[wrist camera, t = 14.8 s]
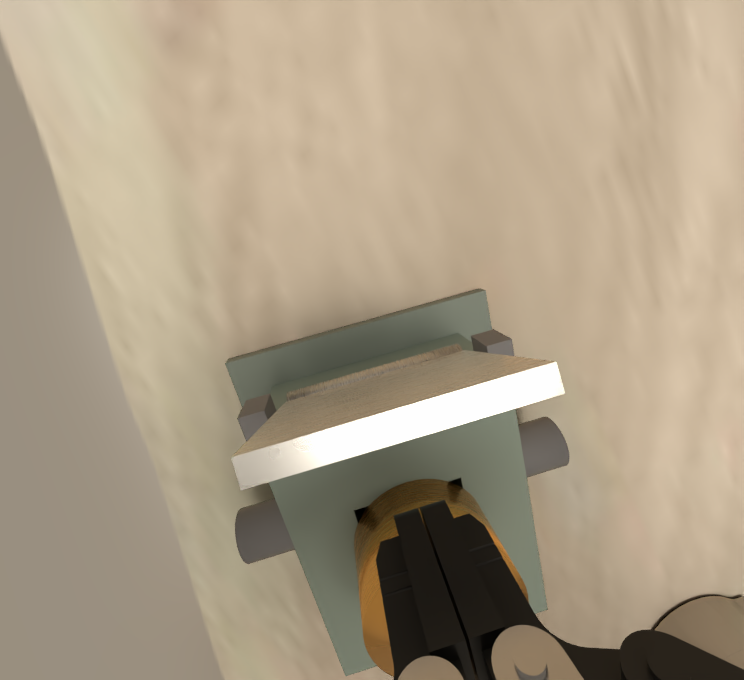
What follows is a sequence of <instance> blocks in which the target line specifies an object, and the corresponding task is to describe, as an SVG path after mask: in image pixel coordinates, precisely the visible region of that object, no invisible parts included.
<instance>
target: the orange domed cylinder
mask: <svg viewBox="0 0 744 680" xmlns="http://www.w3.org/2000/svg"><path fill="white" fill-rule="evenodd" d="M441 500H445V501H446V503H447V505H448V507H449V509H450V512H451V514H452V516H453V518H456V517H459V516H462V515H466V514H469V513H470V514H471V515H472V516H473V517H475V518H476V519H477V520H479V521H480V522H481V523H482V524H484V525H485V527H486V529H487V530H488V532H489V534H490V536H491V537H492V539H493V541H494V544H495V545H496V546H497V548H498V550H499V552H500V553H501V555H502V558H503V560H505V562H506V564H507V566H508V567H509V569H510V571H511V573H512V575H513V576H514V578H515V580H516V582H517V583H518V585H519V587H520V589H521V590H522V592H523V594H524V596H525V597H526V599H527V601H528V603H529V599H528V593H527V589H526V586H525V584H524V582H523V579H522V578H521V576H520V574H519V573H518V571H517V569H516V567H515V566H514V564H513V562H512V561H511V559H510V557H509V555H508V554H507V552H506V550H505V549H504V547H503V545H502V544H501V542H500V540H499V538H498V537H497V535H496V533H495V532H494V530H493V528H492V526H491V525H490V523H489V521H488V520H487V518H486V516H485V514H484V513H483V511H482V509H481V508H480V506H479V504H478V503H477V501H476V500H475V498H474V497H473V496H472V495H471V494H470V493H469V492H467V491H466V490H465V489H463V488H462V487H460V486H458V485H456V484H453V483H451V482H448V481H443V480H437V479H420V480H413V481H409V482H405V483H403V484H400V485H397V486H395V487H393V488H391V489H389V490H388V491H386V492H384V493H383V494H381V495H380V496H379V497H378V498H376V499H375V500H374V501H373V502H372V503H371V504H370V505H369V506H368V508H367V509H366V510H365V512H364V513H363V515H362V516H361V518H360V520H359V522H358V525H357V527H356V531H355V535H354V550H355V560H356V570H357V580H358V590H359V600H360V609H361V619H362V629H363V639H364V643H365V647H366V650H367V652H368V654H369V656H370V657H371V659H372V660H373V662H374V663H375V664H376V665H377V666H378V667H379V668H380V669H382V670H383V671H384V672H386V673H387V674H389V675H391V676H393V677H394V665H393V658H392V652H391V646H390V641H389V635H388V629H387V623H386V617H385V611H384V605H383V600H382V599H383V598H382V594H381V588H380V581H379V576H378V570H377V564H376V557H377V553H378V549H379V545H380V542H381V541H384V540H387V539H390V538H393V537H397V536H399V535H398V531H397V528H396V524H395V520H394V516H393V515H397V514H400V513H403V512H406V511H409V510H413V509H416V508H418V509H419V512H420V515H421V511H420V507H422V506H425V505H428V504H431V503H435V502H438V501H441ZM421 517H422V515H421ZM422 520H423V519H422ZM423 523H424V522H423Z"/></svg>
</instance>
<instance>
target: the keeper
mask: <svg viewBox="0 0 744 680" xmlns="http://www.w3.org/2000/svg"><path fill="white" fill-rule="evenodd" d="M561 394H565V392H564V388H563V384H562V381H561V377H560V373H559V370H558V366H557V362H556V361H548V360H540V359H532V358H524V357H516V356H508V355H500V354H492V353H484V352H476V351H468V350H463V349H462V347H461V346H460V345H459V344H458V343H457V344H453V345H450V346H446V347H443V348H439V349H436V350H432V351H429V352H425V353H422V354H419V355H415V356H412V357H408V358H405V359H401V360H398V361H394V362H391V363H387V364H384V365H380V366H377V367H373V368H370V369H366V370H363V371H359V372H356V373H353V374H349V375H346V376H342V377H339V378H335V379H332V380H328V381H325V382H321V383H318V384H314V385H311V386H307V387H304V388H300V389H297V390H293V391H290V392H287V395H286V397H287V401H286V402H285V403H284V404H283V405H282V406H281V407H280V408H279V409H278V410H277V411H276V412H275V413H274V414H273V415H272V416H271V417H270V418H269V419H268V420H267V421H266V422H265V423H264V424H263V425H262V426H261V427H260V428H259V430H258V431H257V432H256V433H255V434H254V435H253V436H252V437H251V438H250V439H249V440H248V441H247V442H246V443H245V444H244V445H243V446H242V447H241V448H240V449H239V450H238V451H237V452H236V453H235V454H234V455H233V456H232V457H231V459H232V463H233V466H234V469H235V473H236V476H237V479H238V483H239V486H240V490H244V489H248V488H251V487H254V486H258V485H261V484H264V483H268V482H271V481H274V480H278V479H281V478H284V477H288V476H291V475H294V474H298V473H301V472H304V471H308V470H311V469H314V468H318V467H321V466H324V465H328V464H331V463H334V462H338V461H341V460H344V459H348V458H351V457H354V456H358V455H361V454H364V453H368V452H371V451H374V450H378V449H381V448H384V447H388V446H391V445H394V444H398V443H401V442H404V441H408V440H411V439H415V438H418V437H421V436H425V435H428V434H431V433H435V432H438V431H441V430H445V429H448V428H451V427H455V426H458V425H461V424H465V423H468V422H471V421H475V420H478V419H481V418H485V417H488V416H491V415H495V414H498V413H501V412H505V411H508V410H511V409H515V408H518V407H521V406H525V405H528V404H531V403H535V402H538V401H541V400H545V399H548V398H551V397H555V396H558V395H561Z"/></svg>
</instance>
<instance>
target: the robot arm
mask: <svg viewBox="0 0 744 680" xmlns="http://www.w3.org/2000/svg"><path fill="white" fill-rule="evenodd" d="M420 511H421V515H422V517H421V515H420V512H419V509H418V508H416V509H413V510H409V511H406V512H403V513H400V514H397V515H393V516H394V520H395V524H396V528H397V531H398V535H399V536H397V537H393V538H390V539H387V540H384V541H381V542H380V545H379V549H378V553H377V557H376V564H377V570H378V576H379V581H380V588H381V594H382V598H383V599H382V600H383V605H384V611H385V617H386V623H387V629H388V635H389V641H390V646H391V652H392V658H393V665H394V680H744V596H743V597H740V598H736V599H729V598H726V597H722V596H709V597H702V598H699V599H696V600H693V601H690V602H688V603H686V604H684V605H682V606H680V607H679V608H677V609H676V610H674V611H673V612H671V613H670V614H669V615H668V616H667V617H666V618H665V619H663V620H662V621H661V623H660V624H659V625H658V626H657V628H656V629H655V630H641V631H636V632H634V633H631V634H630V635H629V636H627V637H626V638H625V640H624V641H623V643H622V645H621V648H620V649H602V648H586V647H579V646H576V645H572V644H570V643H567V642H565V641H563V640H561V639H559V638H557V637H556V636H555V635H553V634H552V633H550V632H549V631H548V630H547V629H546V628H545V627H544V626H543V625H542V624H541V622H540V621H539V620H538V618H537V617H536V615H535V613H534V612H533V610H532V608H531V606H530V604H529V603H528V601H527V599H526V597H525V596H524V594H523V592H522V590H521V589H520V587H519V585H518V583H517V582H516V580H515V578H514V576H513V575H512V573H511V571H510V569H509V567H508V566H507V564H506V562H505V560H503V558H502V555H501V553H500V552H499V550H498V548H497V546H496V545H495V544H494V541H493V539H492V537H491V536H490V534H489V532H488V530H487V529H486V527H485V525H484V524H482V523H481V522H480V521H479V520H477V519H476V518H475V517H473V516H472V515H471V514H470V513H469V514H466V515H462V516H459V517H456V518H453V516H452V514H451V512H450V509H449V507H448V505H447V503H446V501H445V500H441V501H438V502H435V503H431V504H428V505H425V506H422V507H420ZM422 519H423V520H422ZM423 522H424V523H423Z"/></svg>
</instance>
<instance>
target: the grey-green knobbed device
mask: <svg viewBox="0 0 744 680" xmlns="http://www.w3.org/2000/svg"><path fill="white" fill-rule="evenodd" d="M457 343H458V344H459V345H460V346H461V347H462V349H463V350H468V351H476V352H484V353H492V354H500V355H508V356H514V351H513V344H512V339H511V338H509V337H507V336H505V335H503V334H501V333H499V332H497V331H496V330H494V329H492V327H491V321H490V315H489V309H488V303H487V297H486V291H485V290H483V289H476V290H473V291H469V292H465V293H462V294H458V295H455V296H451V297H448V298H444V299H441V300H437V301H433V302H430V303H426V304H423V305H419V306H416V307H412V308H408V309H405V310H401V311H398V312H394V313H391V314H387V315H384V316H380V317H376V318H373V319H369V320H366V321H362V322H359V323H355V324H351V325H348V326H344V327H341V328H337V329H334V330H330V331H327V332H323V333H319V334H316V335H312V336H309V337H305V338H302V339H298V340H295V341H291V342H287V343H284V344H280V345H277V346H273V347H270V348H266V349H262V350H259V351H255V352H252V353H248V354H245V355H241V356H238V357H234V358H230V359H228V361H227V362H226V363H225V364H226V367H227V369H228V372H229V374H230V377H231V379H232V382H233V385H234V387H235V390H236V392H237V395H238V397H239V400H240V402H241V405H242V407H243V408H242V410H241V412H240V414H239V416H238V418H237V419H238V421H239V424H240V426H241V429H242V431H243V434H244V436H245V439H246V441H248V440H249V439H250V438H251V437H252V436H253V435H254V434H255V433H256V432H257V431H258V430H259V428H260V427H261V426H262V425H263V424H264V423H265V422H266V421H267V420H268V419H269V418H270V417H271V416H272V415H273V414H274V413H275V412H276V411H277V410H278V409H279V408H280V407H281V406H282V405H283V404H284V403H285V402H286V401H287V397H286V395H287V392H290V391H293V390H297V389H300V388H304V387H307V386H311V385H314V384H318V383H321V382H325V381H328V380H332V379H335V378H339V377H342V376H346V375H349V374H353V373H356V372H359V371H363V370H366V369H370V368H373V367H377V366H380V365H384V364H387V363H391V362H394V361H398V360H401V359H405V358H408V357H412V356H415V355H419V354H422V353H425V352H429V351H432V350H436V349H439V348H443V347H446V346H450V345H453V344H457ZM568 463H569V451H568V447H567V444H566V441H565V439H564V437H563V435H562V433H561V431H560V430H559V428H558V427H557V425H556V424H555V423H554V422H553V421H552V420H551V419H549V418H548V417H542V418H539V419H535V420H532V421H529V422H526V423H522V424H519V425H518V420H517V414H516V408H515V409H511V410H508V411H505V412H501V413H498V414H495V415H491V416H488V417H485V418H481V419H478V420H475V421H471V422H468V423H465V424H461V425H458V426H455V427H451V428H448V429H445V430H441V431H438V432H435V433H431V434H428V435H425V436H421V437H418V438H415V439H411V440H408V441H404V442H401V443H398V444H394V445H391V446H388V447H384V448H381V449H378V450H374V451H371V452H368V453H364V454H361V455H358V456H354V457H351V458H348V459H344V460H341V461H338V462H334V463H331V464H328V465H324V466H321V467H318V468H314V469H311V470H308V471H304V472H301V473H298V474H294V475H291V476H288V477H284V478H281V479H278V480H274V481H271V482H269V485H270V487H271V490H272V492H273V495H274V497H275V498H274V499H271V500H267V501H264V502H261V503H258V504H254V505H251V506H248V507H244V508H241V509H240V510H239V511H238V513H237V517H236V523H235V534H236V542H237V547H238V550H239V553H240V556H241V558H242V559H243V561H244V562H245V563H247V564H250V563H253V562H256V561H259V560H263V559H266V558H269V557H272V556H276V555H279V554H282V553H285V552H288V551H292V550H296V553H297V555H298V558H299V560H300V563H301V565H302V568H303V570H304V573H305V575H306V578H307V580H308V583H309V585H310V588H311V590H312V593H313V595H314V598H315V600H316V603H317V605H318V608H319V610H320V613H321V615H322V618H323V620H324V623H325V625H326V628H327V630H328V633H329V635H330V638H331V640H332V643H333V646H334V648H335V651H336V653H337V656H338V658H339V661H340V663H341V666H342V668H343V671H344V673H345V676H348V675H351V674H354V673H357V672H360V671H363V670H366V669H369V668H372V667H375V666H377V665H376V664H375V663H374V662H373V660H372V659H371V657H370V656H369V654H368V652H367V650H366V647H365V643H364V639H363V629H362V619H361V609H360V600H359V590H358V580H357V570H356V560H355V550H354V535H355V531H356V527H357V525H358V522H359V520H360V518H361V516H362V515H363V513H364V512H365V510H366V509H367V508H368V506H369V505H370V504H371V503H372V502H373V501H374V500H375V499H376V498H378V497H379V496H380V495H381V494H383V493H384V492H386V491H388V490H389V489H391V488H393V487H395V486H397V485H400V484H403V483H405V482H409V481H413V480H420V479H437V480H443V481H448V482H451V483H453V484H456V485H458V486H460V487H462V488H463V489H465V490H466V491H467V492H469V493H470V494H471V495H472V496H473V497H474V498H475V500H476V501H477V503H478V504H479V506H480V508H481V509H482V511H483V513H484V514H485V516H486V518H487V520H488V521H489V523H490V525H491V526H492V528H493V530H494V532H495V533H496V535H497V537H498V538H499V540H500V542H501V544H502V545H503V547H504V549H505V550H506V552H507V554H508V555H509V557H510V559H511V561H512V562H513V564H514V566H515V567H516V569H517V571H518V573H519V574H520V576H521V578H522V579H523V582H524V584H525V586H526V589H527V593H528V599H529V604H530V606H531V608H532V610H533V612H534V613H535V614H536V613H539V612H542V611H545V610H548V609H547V603H546V596H545V590H544V584H543V578H542V571H541V565H540V559H539V552H538V546H537V540H536V533H535V527H534V521H533V515H532V508H531V502H530V496H529V489H528V483H527V477H530V476H533V475H537V474H540V473H543V472H546V471H549V470H553V469H556V468H559V467H562V466H566V465H567V464H568Z"/></svg>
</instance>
